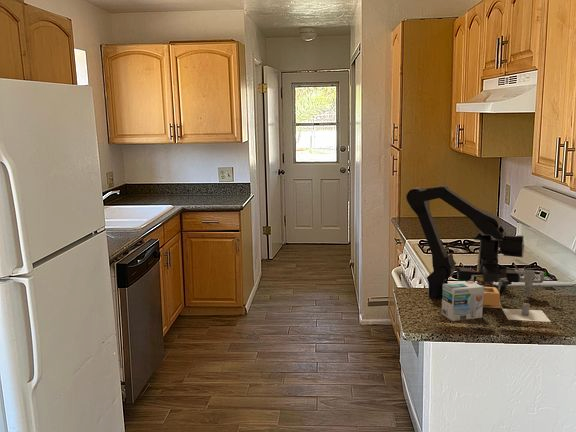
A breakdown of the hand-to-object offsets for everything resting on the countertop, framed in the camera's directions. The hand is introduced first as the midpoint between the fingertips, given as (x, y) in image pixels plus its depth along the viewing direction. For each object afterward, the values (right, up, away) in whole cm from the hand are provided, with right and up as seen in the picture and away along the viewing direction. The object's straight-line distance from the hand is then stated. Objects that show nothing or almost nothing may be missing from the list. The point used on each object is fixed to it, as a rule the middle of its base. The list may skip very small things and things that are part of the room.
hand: (486, 300), depth 181 cm
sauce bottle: (+9, +2, +25) cm, 26 cm away
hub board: (+8, -4, -11) cm, 14 cm away
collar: (0, -1, 0) cm, 0 cm away
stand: (0, -2, 0) cm, 2 cm away
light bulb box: (-12, -4, -11) cm, 17 cm away
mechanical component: (+16, -1, +6) cm, 18 cm away
